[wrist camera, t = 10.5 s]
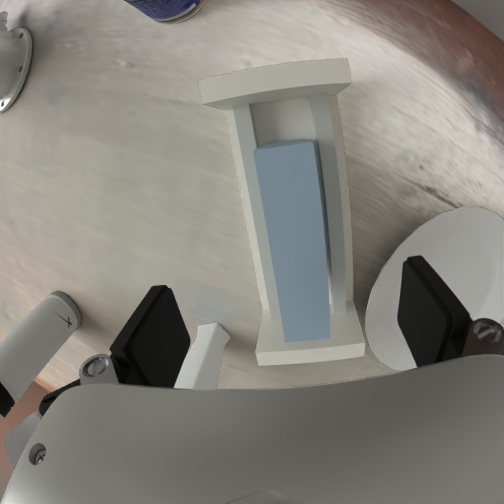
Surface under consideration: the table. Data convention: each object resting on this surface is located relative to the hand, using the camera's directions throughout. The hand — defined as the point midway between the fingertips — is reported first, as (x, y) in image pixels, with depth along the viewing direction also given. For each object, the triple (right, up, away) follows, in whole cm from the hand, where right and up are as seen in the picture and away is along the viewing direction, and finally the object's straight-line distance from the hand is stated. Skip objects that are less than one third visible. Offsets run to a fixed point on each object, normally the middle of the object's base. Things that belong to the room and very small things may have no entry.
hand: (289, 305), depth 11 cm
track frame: (+3, +6, +14) cm, 15 cm away
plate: (+20, -2, +15) cm, 25 cm away
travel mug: (-28, -6, +23) cm, 37 cm away
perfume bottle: (-6, -7, +21) cm, 23 cm away
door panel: (+2, +5, +13) cm, 14 cm away
